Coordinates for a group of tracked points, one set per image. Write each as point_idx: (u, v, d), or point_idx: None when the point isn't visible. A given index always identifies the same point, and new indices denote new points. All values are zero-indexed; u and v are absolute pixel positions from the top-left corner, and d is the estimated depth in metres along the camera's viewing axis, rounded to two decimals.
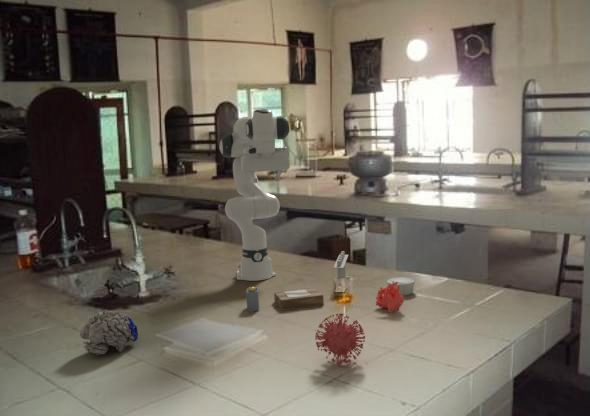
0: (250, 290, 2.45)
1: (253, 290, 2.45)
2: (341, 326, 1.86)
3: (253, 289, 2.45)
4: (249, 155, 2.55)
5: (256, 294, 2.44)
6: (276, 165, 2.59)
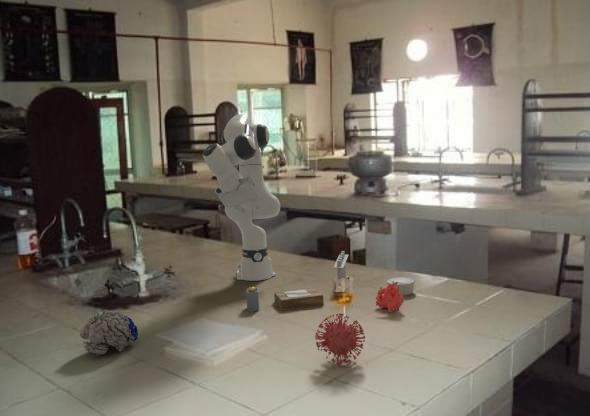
0: (250, 290, 2.45)
1: (253, 290, 2.45)
2: (341, 326, 1.86)
3: (253, 289, 2.45)
4: (220, 194, 2.48)
5: (256, 294, 2.44)
6: (246, 197, 2.42)
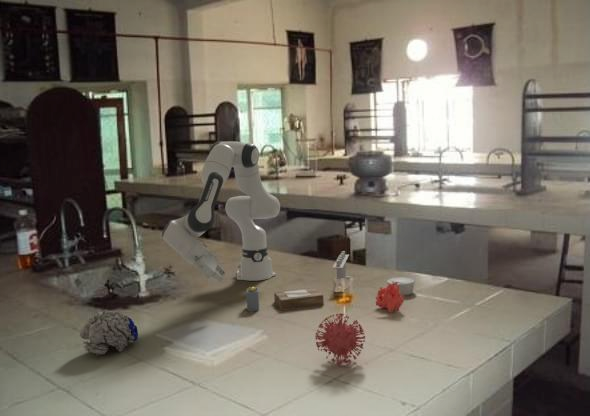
0: (250, 290, 2.45)
1: (253, 290, 2.45)
2: (341, 326, 1.86)
3: (253, 289, 2.45)
4: None
5: (256, 294, 2.44)
6: None
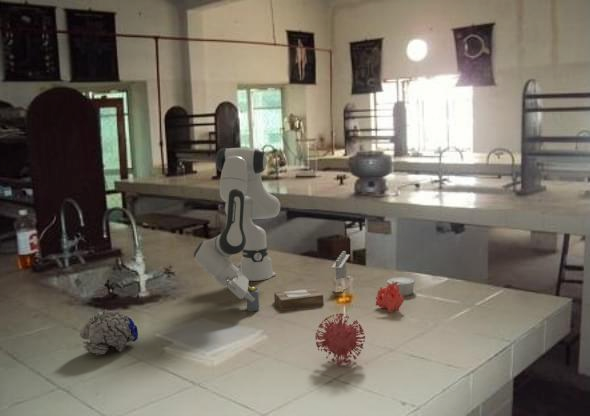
0: (250, 290, 2.45)
1: (253, 290, 2.45)
2: (341, 326, 1.86)
3: (253, 289, 2.45)
4: None
5: (256, 294, 2.44)
6: None
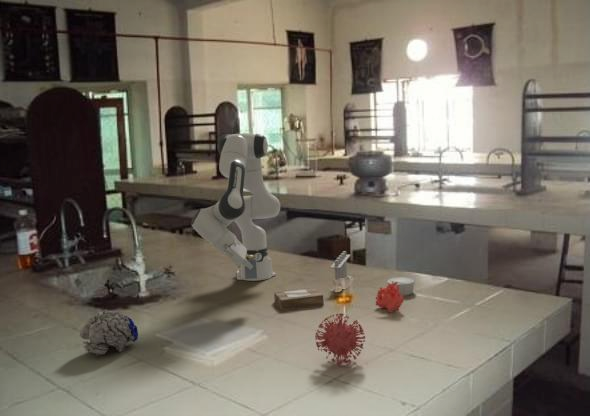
0: (248, 258, 2.43)
1: (251, 258, 2.43)
2: (341, 326, 1.86)
3: (251, 257, 2.43)
4: None
5: (254, 262, 2.42)
6: None
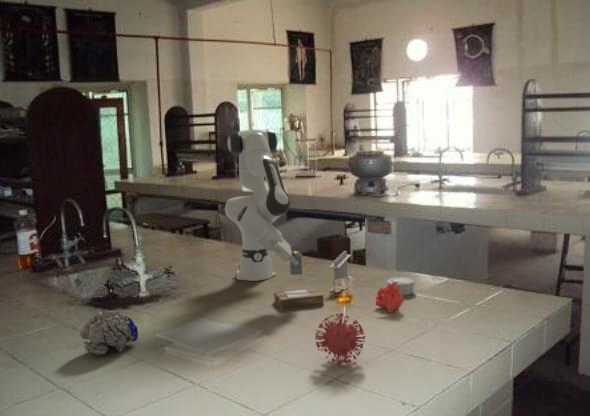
0: (293, 254, 2.47)
1: (296, 254, 2.47)
2: (341, 326, 1.86)
3: (296, 253, 2.47)
4: None
5: (300, 258, 2.46)
6: None
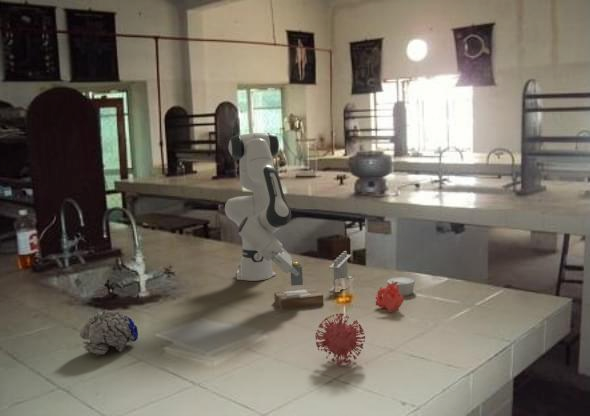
0: (294, 265, 2.48)
1: (297, 265, 2.48)
2: (341, 326, 1.86)
3: (297, 264, 2.48)
4: None
5: (300, 269, 2.47)
6: None
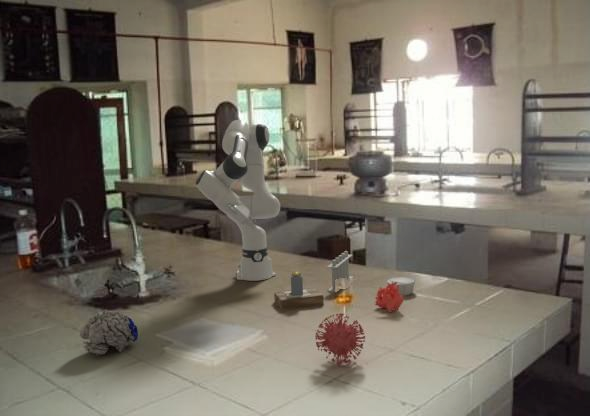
0: (294, 275, 2.49)
1: (297, 275, 2.48)
2: (341, 326, 1.86)
3: (297, 274, 2.48)
4: None
5: (300, 279, 2.47)
6: None
